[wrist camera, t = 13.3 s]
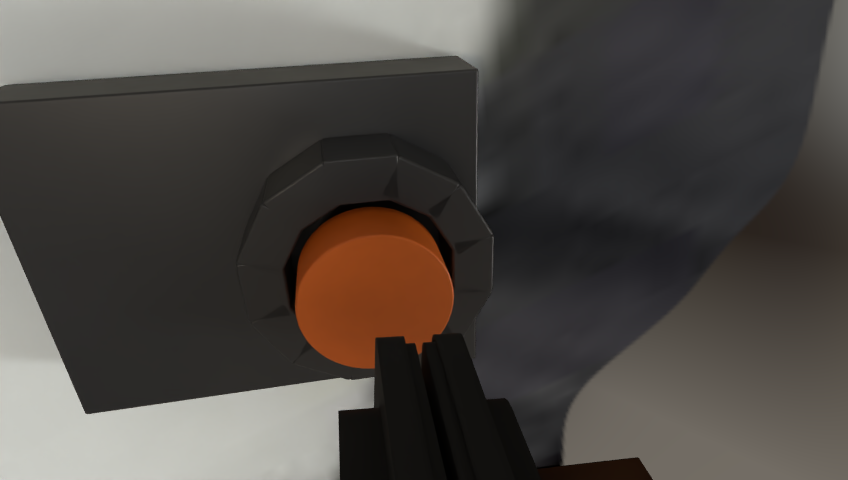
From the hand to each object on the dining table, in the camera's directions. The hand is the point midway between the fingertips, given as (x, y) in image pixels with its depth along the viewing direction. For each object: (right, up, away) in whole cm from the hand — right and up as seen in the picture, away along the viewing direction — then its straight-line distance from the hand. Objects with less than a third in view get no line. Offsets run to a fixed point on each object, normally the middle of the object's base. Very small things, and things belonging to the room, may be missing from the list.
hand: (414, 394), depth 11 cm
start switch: (-1, +2, +4) cm, 5 cm away
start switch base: (-5, +4, +8) cm, 10 cm away
